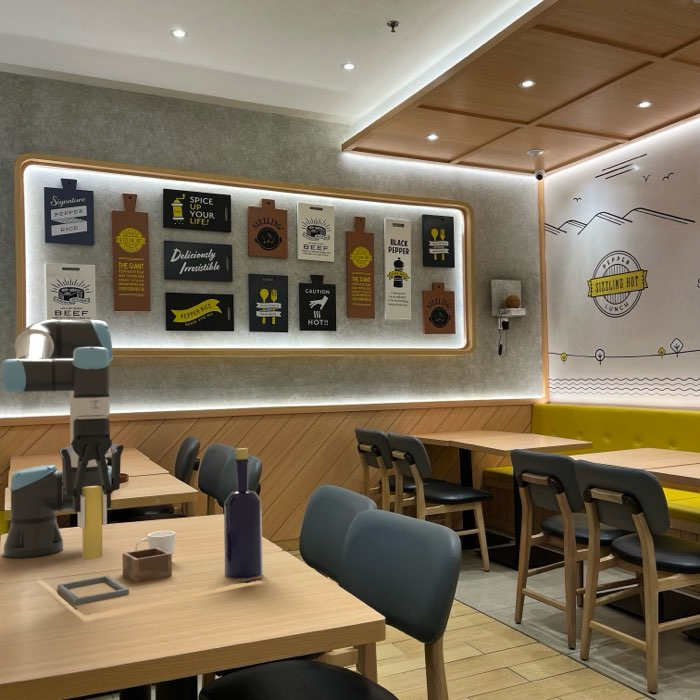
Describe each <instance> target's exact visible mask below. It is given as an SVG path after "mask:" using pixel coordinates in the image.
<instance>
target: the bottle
mask: <svg viewBox="0 0 700 700" xmlns="http://www.w3.org/2000/svg"><path fill="white" fill-rule="evenodd" d="M235 457H236V458H235V460H234V462H235V464H236V465H235V466H236V467H235V468H236V489H237V490H235V491H232V492H231V493H230V494H229V495H228V496H227V498H226V499H225V501H223V510H224V511H223V515H224V516H223V518H224V519H223V521H224V523H223V525H224V526H223V527H224V528H223V529H224V534H223V535H224V537H223V538H224V576H225V577H227V578H231V579H249V580H245V581H240V582H238V584H240V583H242V584H243V583H244V584H246V583H247V584H248V583H253V582H256V581H257V582H258V581H261V580H262V577H264V574H263V573H264V571H263V567H264V566H263V565H264V564H263V528H262V527H263V523H262V522H263V518H262V514H263V513H262V511H263V510H262V498H261V497H260V496H259V495H258V494H257V492H255V491H252V490H249V463H250V458H249V447H243V448H241V447H239V448H236V449H235ZM258 576H261V577H260V578H254V577H258ZM250 578H254V579H250Z"/></svg>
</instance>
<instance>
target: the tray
mask: <svg viewBox="0 0 700 700" xmlns="http://www.w3.org/2000/svg"><path fill="white" fill-rule="evenodd" d="M99 583H106V584H108V585H110V586H112V587H113V588H114V589H116V590H112V591H107V592H102V593H96V594H91V595H86V596H81V597H78V596H77V595H75V594H74V593H73V592H72V591H71V590H70V589H72V588H77V587H79V588H80V587H84V586H87V585H88V586H89V585H93V584H99ZM56 587H57V590H58V591H59V592H60V593H59V592H57V595H58V596H59V597H61V598H62V599H63V600H64V601H65V602H66V603H68V605H69V606H71V607H72V608H73V609H74V610H78V608H77V607H75V606H76V605H81V604H86V603H90V602H91V603H93V602H96V601H97V602H98V601H102V600H107V599H111V598H112V599H113V598H116V597H122V596H126V595H129V594H130V589H129V588H127V587H126V586H125V585H124V584H122V583H120V582H119V581H117V580H115V579H114V578H112V577H111V576H109V575H105V576H104V575H103V576H98V577H93V578H92V577H91V578H87V579H82V580H77V581H71V582H66V583H65V582H64V583H59V584H57V586H56ZM65 597H66V598H67V599H68V600H67V599H66V598H65ZM69 601H70V602H69ZM71 602H72V603H73V604H74V605H75V606H74V605H73V604H72V603H71Z"/></svg>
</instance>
